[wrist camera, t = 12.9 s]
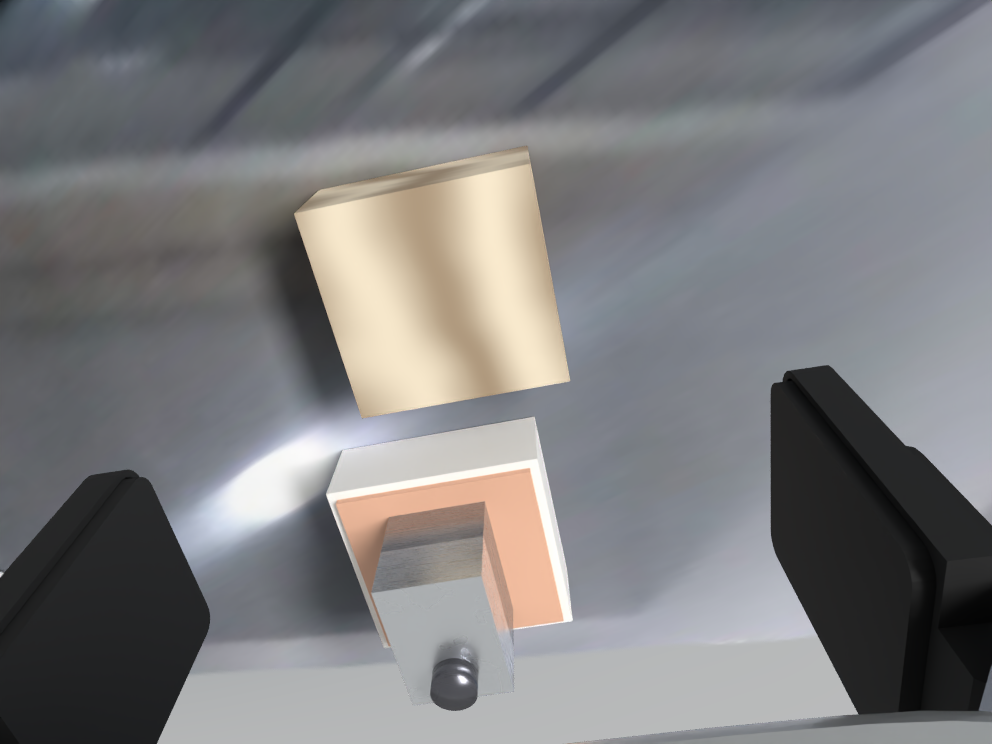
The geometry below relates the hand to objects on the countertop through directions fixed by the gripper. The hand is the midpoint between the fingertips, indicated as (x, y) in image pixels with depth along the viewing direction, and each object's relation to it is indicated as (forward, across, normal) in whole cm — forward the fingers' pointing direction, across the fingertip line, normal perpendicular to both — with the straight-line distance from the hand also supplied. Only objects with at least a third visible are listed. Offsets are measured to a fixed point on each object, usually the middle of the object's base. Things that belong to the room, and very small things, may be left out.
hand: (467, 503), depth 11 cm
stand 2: (+29, +6, +22) cm, 37 cm away
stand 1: (+29, +3, +6) cm, 30 cm away
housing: (+24, +6, +22) cm, 33 cm away
